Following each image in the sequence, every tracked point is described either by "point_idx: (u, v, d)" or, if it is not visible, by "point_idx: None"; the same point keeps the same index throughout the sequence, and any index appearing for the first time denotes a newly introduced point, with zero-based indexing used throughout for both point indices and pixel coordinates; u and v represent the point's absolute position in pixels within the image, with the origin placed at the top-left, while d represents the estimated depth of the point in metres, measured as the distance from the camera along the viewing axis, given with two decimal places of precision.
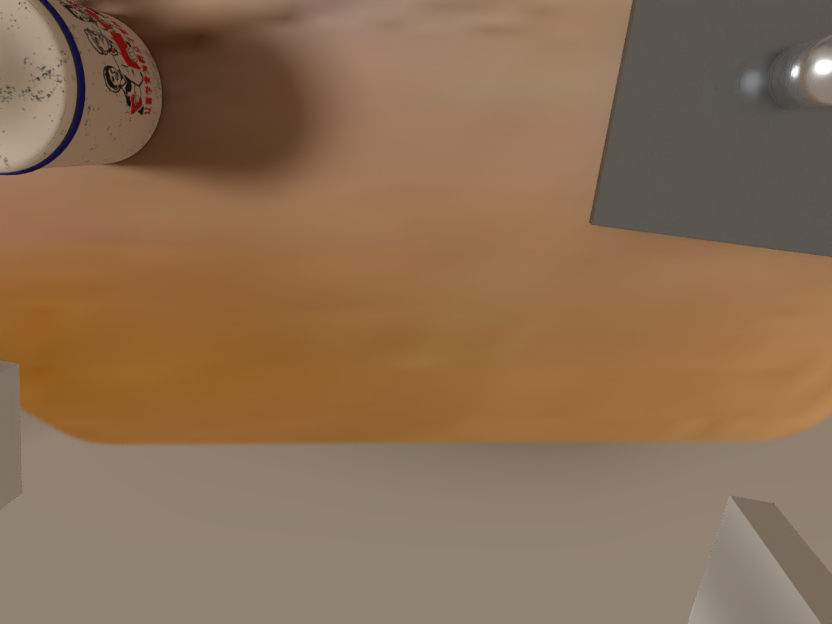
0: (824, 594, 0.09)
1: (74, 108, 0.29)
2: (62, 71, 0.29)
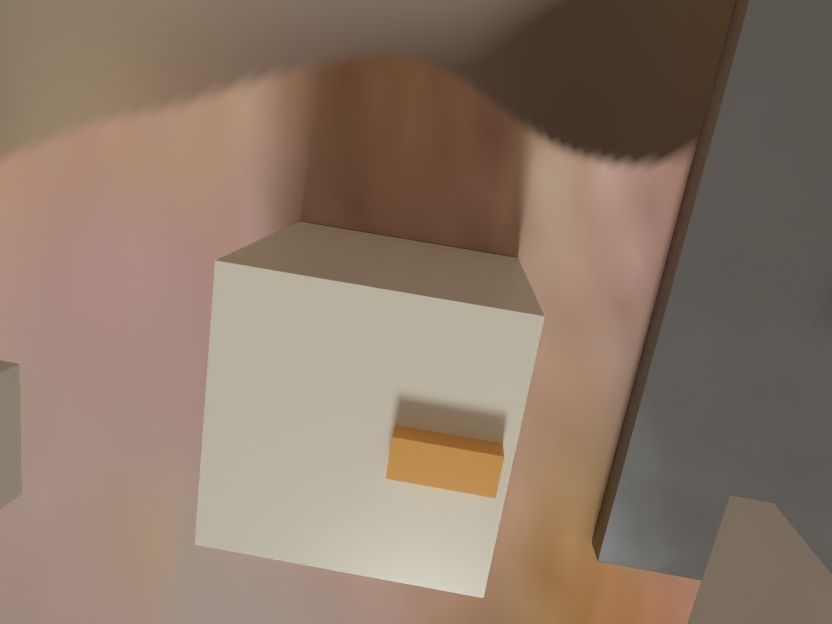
0: (824, 594, 0.09)
1: None
2: None
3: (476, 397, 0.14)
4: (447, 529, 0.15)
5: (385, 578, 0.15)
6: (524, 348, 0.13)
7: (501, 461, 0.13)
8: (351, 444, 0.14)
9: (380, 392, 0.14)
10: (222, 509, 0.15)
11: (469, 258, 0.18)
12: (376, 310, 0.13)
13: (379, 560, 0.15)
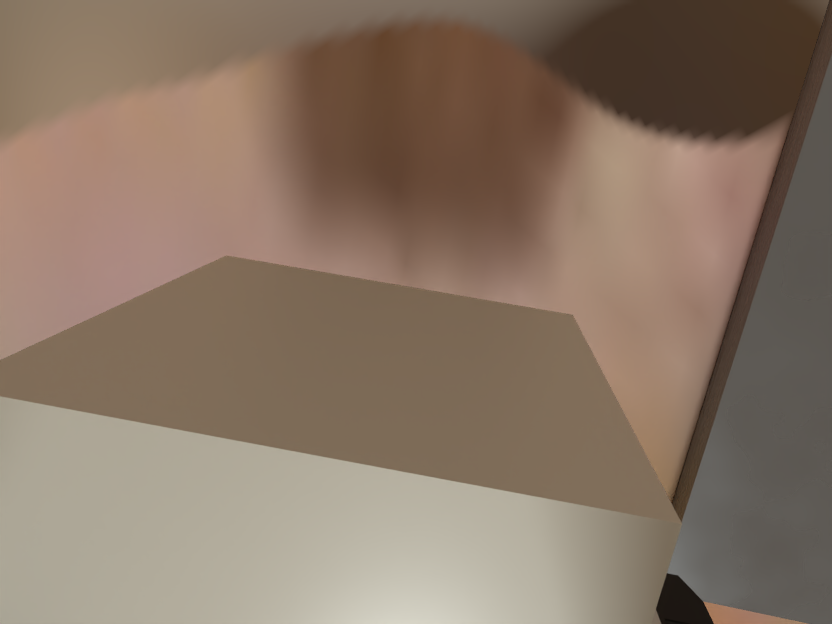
0: None
1: None
2: None
3: None
4: None
5: None
6: (631, 588, 0.06)
7: None
8: None
9: None
10: None
11: (496, 323, 0.11)
12: (299, 498, 0.06)
13: None
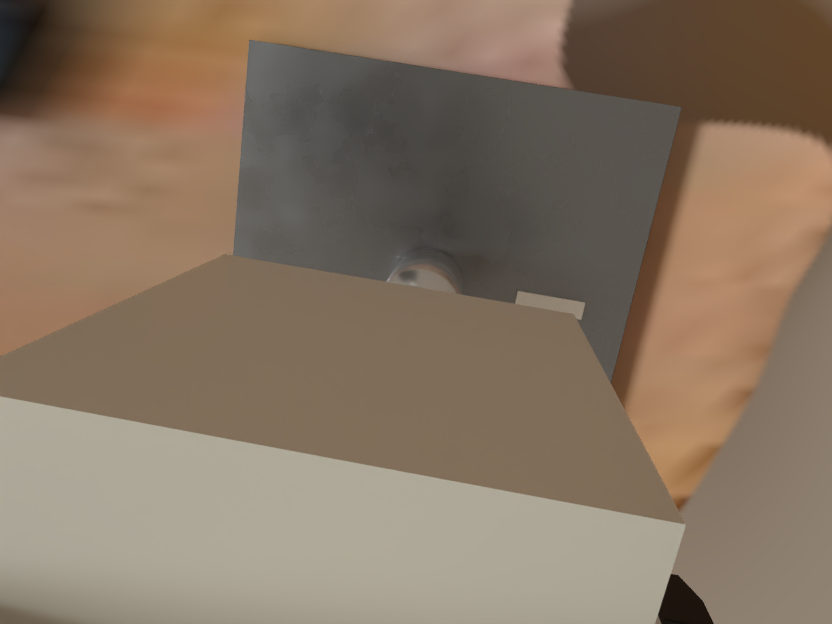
0: None
1: None
2: None
3: None
4: None
5: None
6: (634, 589, 0.06)
7: None
8: None
9: None
10: None
11: (497, 322, 0.11)
12: (298, 499, 0.06)
13: None
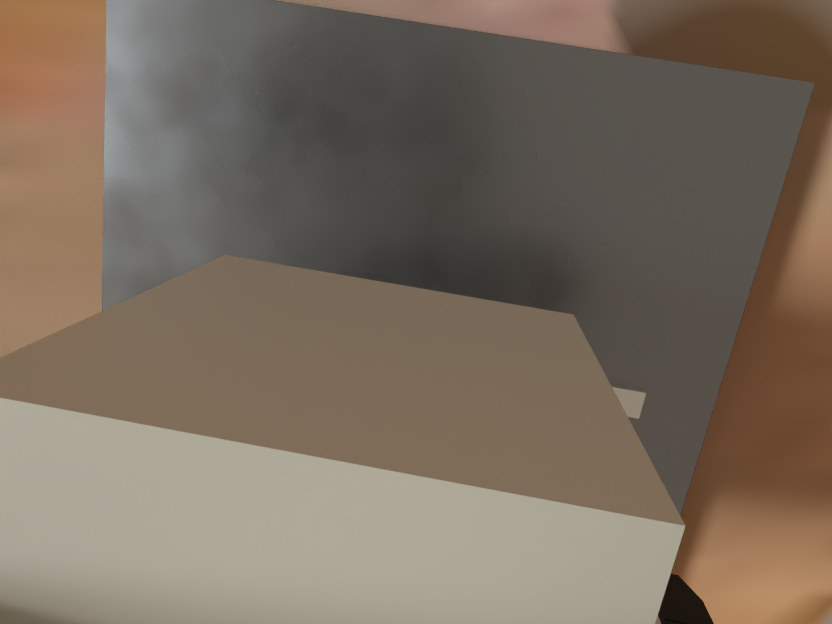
0: None
1: None
2: None
3: None
4: None
5: None
6: (633, 590, 0.06)
7: None
8: None
9: None
10: None
11: (496, 323, 0.11)
12: (297, 500, 0.06)
13: None
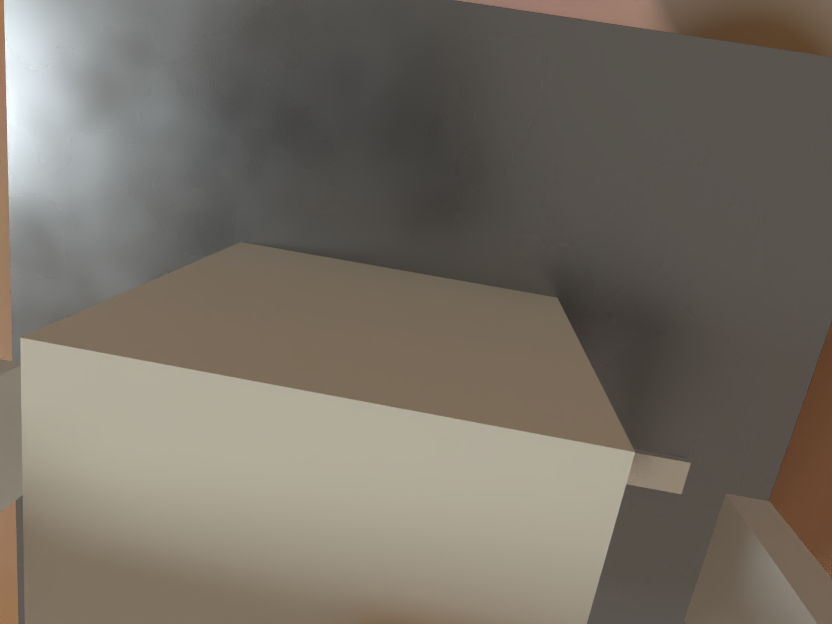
0: (818, 591, 0.09)
1: None
2: None
3: (502, 588, 0.07)
4: None
5: None
6: (594, 507, 0.07)
7: None
8: None
9: (328, 573, 0.08)
10: None
11: (487, 302, 0.12)
12: (317, 432, 0.07)
13: None
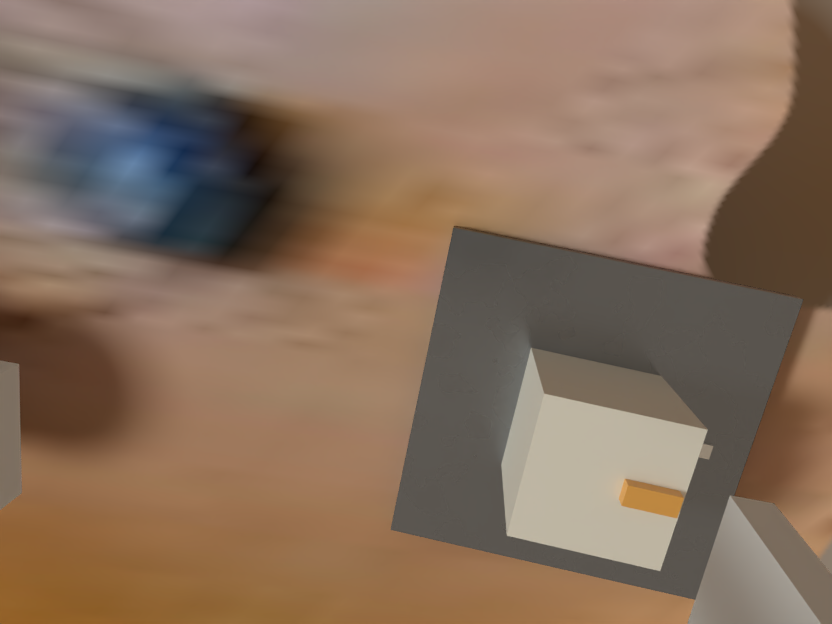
0: (824, 594, 0.09)
1: None
2: None
3: (668, 467, 0.27)
4: (645, 533, 0.28)
5: (608, 558, 0.29)
6: (696, 444, 0.27)
7: (682, 500, 0.27)
8: (600, 487, 0.28)
9: (619, 462, 0.27)
10: (525, 517, 0.28)
11: (639, 379, 0.32)
12: (623, 422, 0.27)
13: (606, 548, 0.28)
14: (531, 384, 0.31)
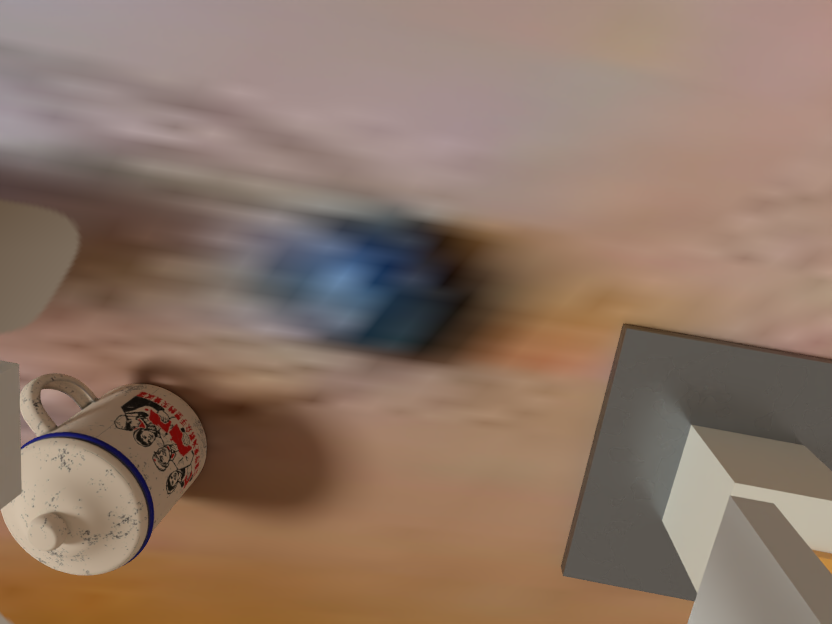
0: (824, 594, 0.09)
1: (145, 536, 0.36)
2: (137, 514, 0.36)
3: None
4: None
5: None
6: None
7: None
8: None
9: None
10: None
11: (791, 452, 0.38)
12: (800, 503, 0.33)
13: None
14: (704, 463, 0.37)
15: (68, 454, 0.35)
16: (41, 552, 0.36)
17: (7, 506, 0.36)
